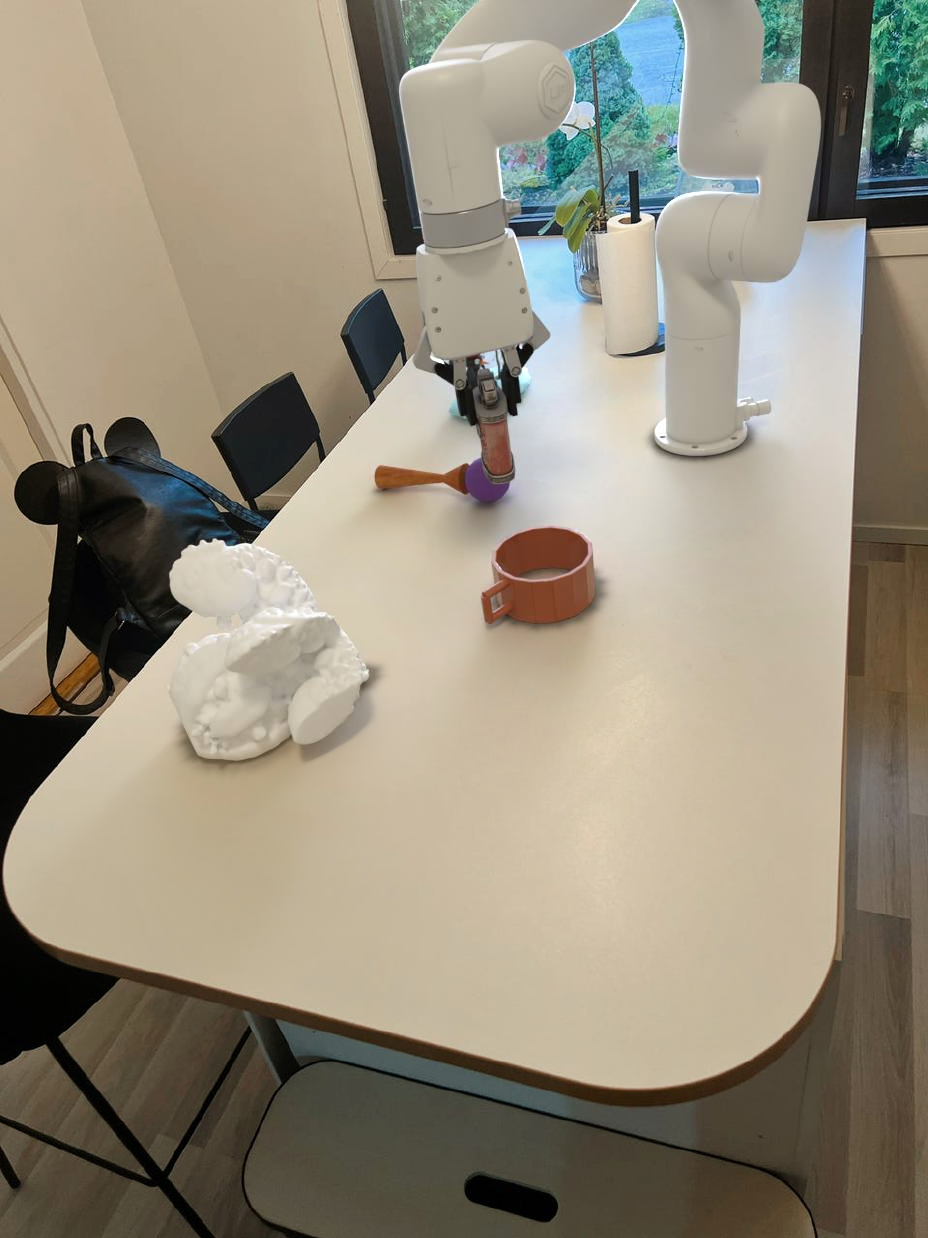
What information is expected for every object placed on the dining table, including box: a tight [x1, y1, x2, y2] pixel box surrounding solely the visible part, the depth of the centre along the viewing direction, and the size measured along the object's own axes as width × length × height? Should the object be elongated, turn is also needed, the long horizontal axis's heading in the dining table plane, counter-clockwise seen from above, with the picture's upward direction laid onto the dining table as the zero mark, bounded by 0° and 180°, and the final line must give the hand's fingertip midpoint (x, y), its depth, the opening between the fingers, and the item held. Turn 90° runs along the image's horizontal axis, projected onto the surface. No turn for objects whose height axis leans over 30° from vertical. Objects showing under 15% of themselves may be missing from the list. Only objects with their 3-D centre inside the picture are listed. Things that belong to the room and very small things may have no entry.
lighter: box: [473, 367, 516, 484], centre depth 89 cm, size 8×3×10 cm, turn 6°
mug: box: [480, 525, 597, 625], centre depth 96 cm, size 14×11×6 cm
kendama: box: [373, 457, 511, 503], centre depth 119 cm, size 6×6×20 cm
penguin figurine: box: [448, 350, 532, 420], centre depth 139 cm, size 20×11×15 cm, turn 157°
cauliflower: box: [164, 538, 370, 762], centre depth 85 cm, size 19×20×20 cm
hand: (491, 414), depth 88 cm, fingers closed on lighter, 3 cm apart
